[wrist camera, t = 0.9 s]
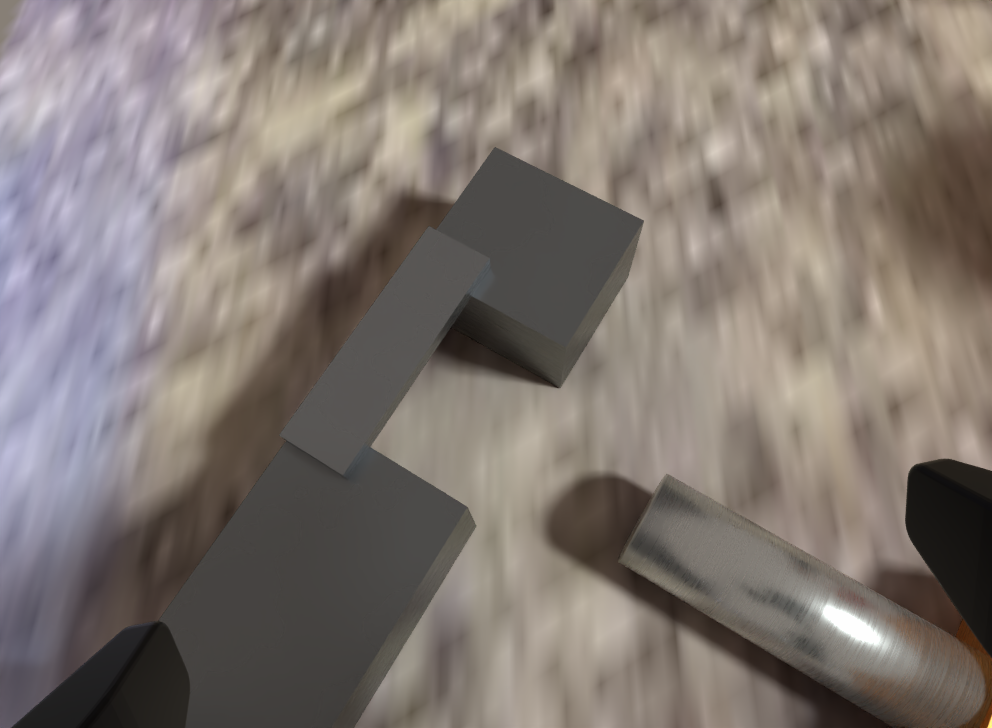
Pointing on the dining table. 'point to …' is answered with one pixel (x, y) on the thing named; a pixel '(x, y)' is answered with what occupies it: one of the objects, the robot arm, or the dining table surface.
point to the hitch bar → (386, 459)
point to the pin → (810, 613)
